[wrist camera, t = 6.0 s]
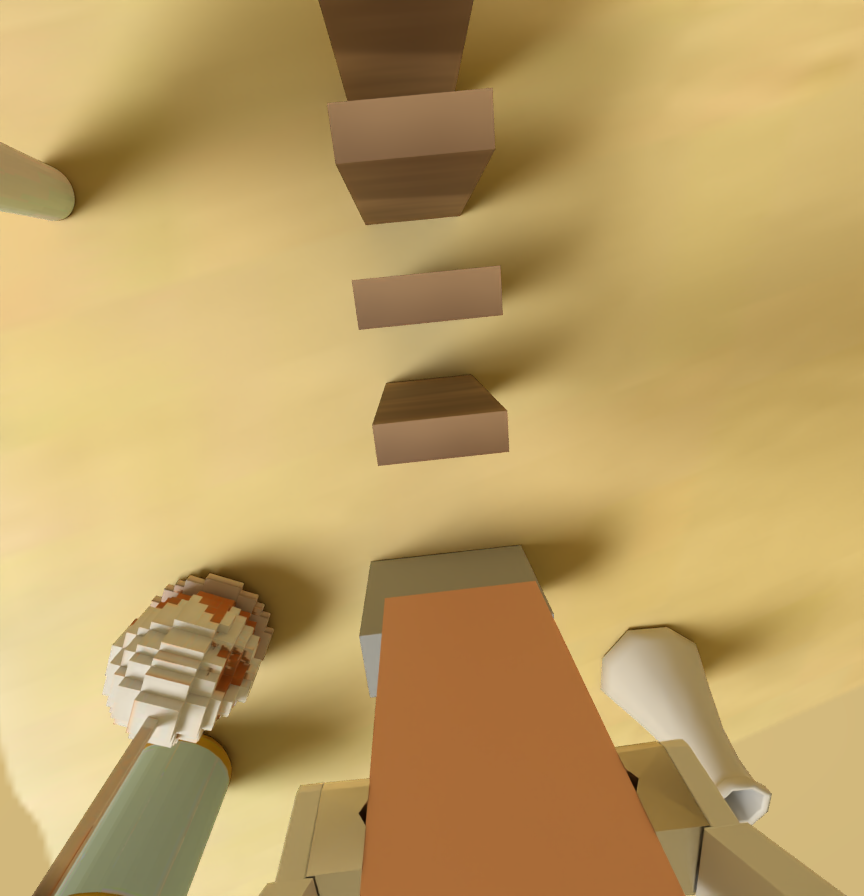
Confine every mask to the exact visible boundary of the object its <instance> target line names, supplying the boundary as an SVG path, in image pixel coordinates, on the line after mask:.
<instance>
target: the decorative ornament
mask: <svg viewBox="0 0 864 896" xmlns="http://www.w3.org/2000/svg"><path fill="white" fill-rule="evenodd" d="M243 585H244V583H242V582H238V581H235V580H231V579H228V578H225V577H221V576H218V575H214V574H211V573H209V575H208V576H207V577H206V579H202V578H198V577H195V576H192V575H190V576H189V577H188V578H187V580H186V581H182V580H179V581H178V582H177V583H176V584H175V586H173V585H170V584H168V586H167V587H166V588H165V589H164V592H163V596H162V597H159V596H156V597H155V598H154V599H153V600H152V601H151V605H150V606H149V607H148V608H147V609H146V611H145V612H144V613H143V614H142V615H141V616H140V617H139V618H138V619H135V620H134V621H133V622H132V624H131V625H130V626H129V627H128V628H127V629H126V630H125V631H124V632H123V634H122V635H121V636H120V637H119V638H118V639H117V640H116V641H115V643H114V644H113V645H112V648H111V652H110V657H109V661H108V665H107V670H106V674H105V676H106V681H105V685H104V689H103V693H102V695H106V696H108V700H107V705H106V706H108V707H110V711H109V712H110V713H111V717H110V718H114V723H113V724H116V725H120V726H125V727H127V730H126V733H129V737H128V738H129V739H133V740H132V742H131V743H130V745H129V747H128V748H127V750H126V751H125V753H124V754H123V756H122V757H121V759H120V760H119V762H118V764H117V765H116V767H115V768H114V770H113V771H112V773H111V774H110V776H109V778H108V779H107V781H106V782H105V784H104V785H103V787H102V788H101V790H100V791H99V793H98V795H97V796H96V798H95V799H94V801H93V802H92V804H91V805H90V807H89V808H88V810H87V812H86V813H85V815H84V816H83V818H82V819H81V821H80V822H79V824H78V826H77V827H76V829H75V830H74V832H73V833H72V835H71V836H70V838H69V839H68V841H67V843H66V844H65V846H64V847H63V849H62V850H61V852H60V853H59V855H58V856H57V858H56V860H55V861H54V863H53V864H52V866H51V867H50V869H49V870H48V872H47V874H46V875H45V877H44V878H43V880H42V881H41V883H40V885H39V886H38V887H37V889H36V891H35V892H34V894H33V895H32V896H54V895H55V894H56V892H57V891H58V889H59V887H60V886H61V884H62V882H63V881H64V879H65V877H66V876H67V874H68V872H69V871H70V869H71V868H72V866H73V864H74V863H75V861H76V859H77V858H78V856H79V854H80V853H81V851H82V849H83V848H84V846H85V844H86V843H87V841H88V840H89V838H90V836H91V835H92V833H93V831H94V830H95V828H96V826H97V825H98V823H99V821H100V820H101V818H102V817H103V815H104V813H105V812H106V810H107V808H108V807H109V805H110V803H111V802H112V800H113V798H114V797H115V795H116V793H117V792H118V790H119V789H120V787H121V785H122V784H123V782H124V780H125V779H126V777H127V775H128V774H129V772H130V770H131V769H132V767H133V766H134V764H135V762H136V761H137V759H138V757H139V756H140V754H141V752H142V751H143V749H144V747H145V746H146V744H147V743H151V744H155V745H160V746H164V747H169V748H171V747H172V745H173V746H174V744H175V743H176V744H177V742H178V740H179V739H180V740H184V741H189V742H193V743H197V741H199V739H200V737H201V735H202V733H203V731H205V730H209V731H211V730H212V728H213V726H214V724H215V722H216V720H217V719H219V718H220V717H221V716H224V717H228V715H229V713H230V711H231V709H232V708H233V706H235V705H236V702H237V701H239V702H243V703H245V702H246V700H247V697H248V695H249V692H250V690H251V688H252V685H253V682H254V679H255V677H256V675H257V672H258V669H259V666H260V663H261V661H262V660H263V659H264V657H265V654H266V651H267V649H268V646H269V643H270V640H271V637H272V634H273V631H274V629H273V628H270V627H266V626H267V623H268V620H269V617H270V614H271V613H268V612H264V611H263V608H264V605H265V604H262V603H259V602H257V599H258V596H259V595H257V594H253V593H250V592H247V591H243V590H242V588H243Z"/></svg>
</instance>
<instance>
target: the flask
mask: <svg viewBox="0 0 864 896" xmlns="http://www.w3.org/2000/svg"><path fill="white" fill-rule="evenodd" d="M601 690H602V691H603V692H604V693H605V694H606V695H607V696H608V697H609V698H610V699H612V700H613V701H614V702H615V703H616V704H617V705H619V706H620V707H621V708H622V709H623V710H624V711H626V712H627V713H628V714H629V715H630V716H631V717H633V718H634V719H635V720H636V721H637V722H638V723H639V724H641V725H642V726H643V727H644V728H645V729H646V730H647V731H648V732H649V733H650V734H651V735H652V736H654V737H655V738H656V739H657V740H658V741H659V742H661V741H668V740H674V739H683V740H684V741H685V742H686V743H688V745H689V746H690V748H691V749H692V751H693V752H694V754H695V755H696V757H697V758H698V760H699V761H700V763H701V764H702V766H703V767H704V769H705V770H706V772H707V774H708V775H709V777H710V778H711V780H712V781H713V783H714V784H715V786H716V787H717V789H718V790H719V792H720V793H721V795H722V796H723V798H724V799H725V801H726V802H727V804H728V805H729V807H730V809H731V810H732V812H733V813H734V815H735V816H736V818H737V819H738V821H739V822H740V823H746V822H748V823H749V824H751V825H753V824H754V823H755V822H756V821H757V820H758V819H760V818H761V817H762V816H763V815H764V814H765V813H767V812H768V809H769V804H770V800H771V795H772V794H771V793H770V791H769V790H768V789H767V788H766V787H765V786H764V785H762V784H760V783H758V782H756V781H755V780H754V779H753V778H752V777H751V775H750V774H749V772H748V771H747V770H746V768H745V767H744V766H743V764H742V763H741V761H740V760H739V758H738V756H737V754H736V752H735V750H734V748H733V747H732V745H731V743H730V741H729V739H728V737H727V735H726V733H725V731H724V729H723V727H722V724H721V721H720V718H719V715H718V712H717V709H716V706H715V703H714V700H713V697H712V694H711V692H710V689H709V685H708V682H707V679H706V675H705V672H704V668H703V665H702V662H701V658H700V655H699V652H698V649H697V646H696V644H695V643H694V642H692V641H690V640H688V639H687V638H685V637H683V636H682V635H680V634H678V633H677V632H675V631H673V630H671V629H670V628H668V627H661V628H649V629H638V630H628V631H627V632H626V633H625V634H624V635H623V636H622V637H621V638H620V640H619V641H618V642H617V643H616V644H615V645H614V646H613V647H612V648H611V650H610V651H609V652H608V653H607V654H606V655H605V656H604V657H603V658H602V675H601Z"/></svg>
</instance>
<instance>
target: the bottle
mask: <svg viewBox="0 0 864 896" xmlns="http://www.w3.org/2000/svg"><path fill="white" fill-rule="evenodd" d="M231 775H232V768H231V763H230V760H229V758H228V755H227V753H226V752H225V750H224V749H223V747H222V746H221V744H219V743H218V742H217V741H215V740H214V739H213V738H212V737H209V736H207V735H205V734H203V733H202V735H201V737H200V739H199V741H197V743H193V742H189V741H184V740H180V739H179V740H178V742H177V744H176V743H175V744H174V746H173V745H172V747H171V748H169V747H164V746H160V745H155V744H151V743H147V744H146V746H145V747H144V749H143V751H142V752H141V754H140V756H139V757H138V759H137V761H136V762H135V764H134V766H133V767H132V769H131V770H130V772H129V774H128V775H127V777H126V779H125V780H124V782H123V784H122V785H121V787H120V789H119V790H118V792H117V793H116V795H115V797H114V798H113V800H112V802H111V803H110V805H109V807H108V808H107V810H106V812H105V813H104V815H103V817H102V818H101V820H100V821H99V823H98V825H97V826H96V828H95V830H94V831H93V833H92V835H91V836H90V838H89V840H88V841H87V843H86V844H85V846H84V848H83V849H82V851H81V853H80V854H79V856H78V858H77V859H76V861H75V863H74V864H73V866H72V868H71V869H70V871H69V872H68V874H67V876H66V877H65V879H64V881H63V882H62V884H61V886H60V887H59V889H58V891H57V892H56V894H55V895H54V896H187V893H188V891H189V888H190V885H191V883H192V880H193V878H194V875H195V872H196V870H197V867H198V864H199V862H200V859H201V857H202V854H203V851H204V849H205V846H206V843H207V841H208V838H209V836H210V833H211V830H212V828H213V825H214V822H215V820H216V817H217V815H218V812H219V809H220V807H221V804H222V801H223V799H224V796H225V794H226V791H227V788H228V785H229V782H230V779H231Z"/></svg>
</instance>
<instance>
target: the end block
mask: <svg viewBox="0 0 864 896" xmlns="http://www.w3.org/2000/svg"><path fill="white" fill-rule="evenodd" d="M529 581H536V583H537V585H538V587H539V589H540V591H541V593H542V595H543V597H544V599H545V602H546V604H547V606H548V608H549V610H550V612H551V614H552V616H553V618H554V613H553V611H552V609H551V607H550V605H549V603H548V601H547V599H546V597H545V595H544V593H543V590H542V588H541V586H540V584H539V582H538V580H537V578H536V576H535V574H534V572H533V570H532V568H531V565H530V563H529V561H528V559H527V557H526V555H525V553H524V551H523V549H522V547H521V545H516V546H507V547H498V548H489V549H481V550H472V551H463V552H454V553H445V554H436V555H427V556H418V557H409V558H400V559H391V560H382V561H373V562H371V564H370V570H369V577H368V583H367V590H366V596H365V602H364V609H363V615H362V622H361V628H360V635H359V637H360V643H361V649H362V654H363V660H364V665H365V671H366V677H367V682H368V688H369V694H370V697H377V685H378V673H379V661H380V649H381V637H382V625H383V614H384V602H385V598H390V597H399V596H408V595H416V594H425V593H434V592H442V591H451V590H460V589H469V588H477V587H486V586H495V585H503V584H512V583H521V582H529Z"/></svg>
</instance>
